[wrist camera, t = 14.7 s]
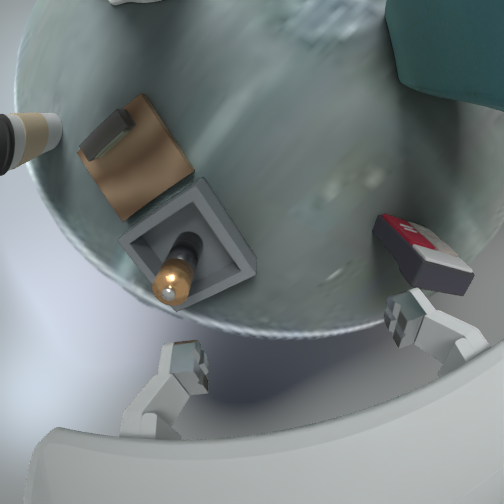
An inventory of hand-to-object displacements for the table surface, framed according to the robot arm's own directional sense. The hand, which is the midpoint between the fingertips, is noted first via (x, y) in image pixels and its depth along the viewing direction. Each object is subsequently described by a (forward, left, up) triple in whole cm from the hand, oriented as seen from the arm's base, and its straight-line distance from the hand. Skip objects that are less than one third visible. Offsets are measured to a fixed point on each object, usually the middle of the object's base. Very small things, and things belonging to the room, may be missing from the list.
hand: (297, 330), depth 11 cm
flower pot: (-8, +32, -30) cm, 45 cm away
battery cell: (+3, -16, -29) cm, 33 cm away
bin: (+3, -16, -30) cm, 34 cm away
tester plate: (-13, -16, -30) cm, 36 cm away
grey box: (+18, +15, -30) cm, 38 cm away
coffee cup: (-28, -27, -30) cm, 49 cm away
